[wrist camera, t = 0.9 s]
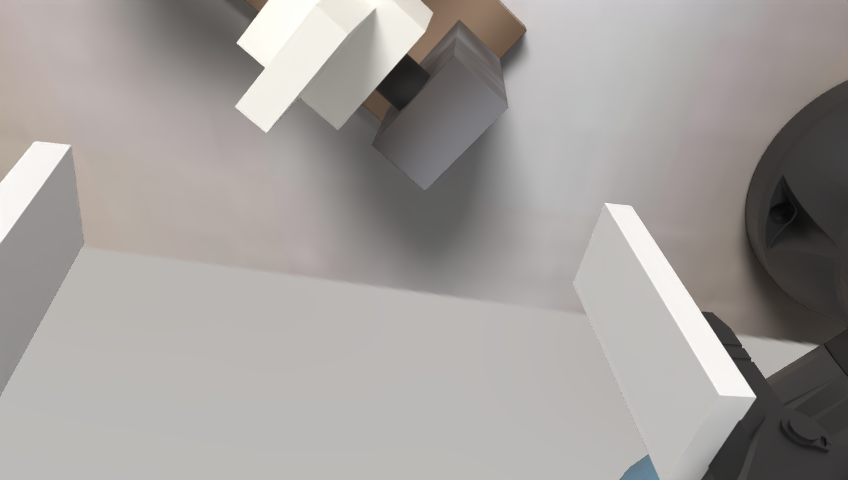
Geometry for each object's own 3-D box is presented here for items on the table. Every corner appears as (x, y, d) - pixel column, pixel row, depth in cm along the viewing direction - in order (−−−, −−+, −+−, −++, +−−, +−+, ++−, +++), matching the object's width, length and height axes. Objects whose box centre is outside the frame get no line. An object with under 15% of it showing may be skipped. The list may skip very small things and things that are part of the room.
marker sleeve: (433, 12, 29) (411, 64, 19) (358, 98, 31) (302, 185, 21) (345, -72, 28) (274, -63, 18) (273, 22, 30) (172, 78, 20)
